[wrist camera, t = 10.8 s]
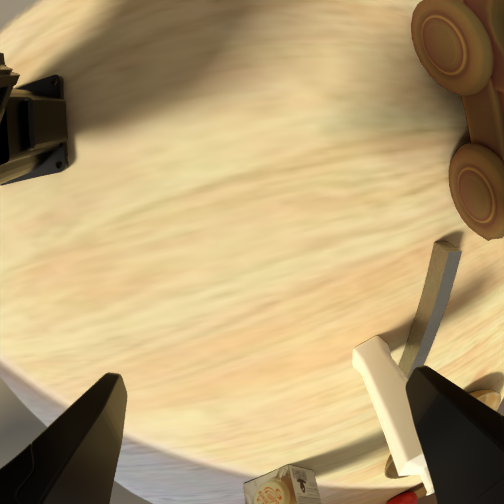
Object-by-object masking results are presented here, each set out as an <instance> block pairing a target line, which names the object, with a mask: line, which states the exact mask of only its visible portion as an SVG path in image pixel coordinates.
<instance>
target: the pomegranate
mask: <svg viewBox="0 0 504 504" xmlns="http://www.w3.org/2000/svg"><path fill="white" fill-rule="evenodd" d="M417 502H418V498H417V496H416V494H415V493H414V492H412V491H408V492H405V493H402V494H399V495H397V496H395V497H393V498H392V499H390V500H389V501H388V502H387V503H386V504H417Z"/></svg>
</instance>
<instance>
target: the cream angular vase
mask: <svg viewBox="0 0 504 504" xmlns="http://www.w3.org/2000/svg"><path fill="white" fill-rule="evenodd" d="M352 365H353V367H354V368H355V369H356V370H358V371H359V372H360V373H361V374H362V377H363V379H364V382H365V384H366V387H367V389H368V392H369V395H370V397H371V400H372V402H373V405H374V408H375V410H376V413H377V416H378V418H379V421H380V424H381V427H382V429H383V432H384V435H385V438H386V440H387V443H388V446H389V449H390V452H391V455H392V458H393V460H394V463H395V466H396V469H397V472H398V475H399V476H407V475H418V474H419V475H420V477H421V479H422V481H423V483H424V486H425V488H426V490H427V495H430V494H432V493H434V488H433V484H432V481H431V477H430V474H429V471H428V467H427V464H426V461H425V458H424V454H423V451H422V448H421V445H420V442H419V439H418V436H417V433H416V430H415V427H414V423H413V419H412V414H411V410H410V406H409V402H408V398H407V394H406V389H405V387H406V383H407V381H408V378H407V377H406V376H405V374H404V373H403V372H402V370H401V369H400V368H399V366H398V365H397V364H396V362H395V361H394V360H393V359H392V357H391V353H390V349H389V346H388V344H387V343H385V342H384V341H383V340H382V339H381V338H380V337H379V336H375V337H373V338H371V339H369V340H367V341H366V342H364V343H362V344H360V345H358V346H357V347H355V348H354V349H353V362H352Z"/></svg>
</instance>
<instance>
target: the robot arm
mask: <svg viewBox="0 0 504 504" xmlns="http://www.w3.org/2000/svg"><path fill="white" fill-rule="evenodd" d="M12 70H13V69H11V68H9V67H6V65H5V62H4V54H3V53H0V185H6V184H10V183H14V182H18V181H22V180H26V179H31V178H35V177H39V176H44V175H49V174H54V173H59V172H62V171H64V170H66V168H67V166H68V158H67V148H66V140H67V124H66V104H65V101H64V100H63V78H62V76H60V75H53V76H50V77H47V78H44V79H41V80H38V81H36V82H33V83H30V84H28V85H25V86H23V87H20V88H18V89H13V86H14V85H16V83H17V81H18V79H19V76H20V74H17V73H14V72H12ZM56 79H57V84H56V85H55V86H54V81H55V80H56ZM59 161H61V162H62V167H60V166H59ZM405 389H406V394H407V398H408V402H409V406H410V410H411V414H412V419H413V423H414V427H415V430H416V433H417V436H418V439H419V442H420V445H421V448H422V451H423V454H424V458H425V461H426V464H427V467H428V471H429V474H430V477H431V481H432V484H433V488H434V492H435V495H436V499H437V503H438V504H504V416H502V415H501V414H499V413H498V412H496V411H495V410H493V409H492V408H490V407H489V406H487V405H486V404H484V403H483V402H481V401H480V400H478V399H477V398H475V397H474V396H472V395H471V394H469V393H468V392H466V391H465V390H463V389H461V388H460V387H458V386H457V385H455V384H454V383H452V382H451V381H449V380H448V379H446V378H445V377H443V376H442V375H440V374H439V373H437V372H436V371H434V370H433V369H431V368H430V367H428V366H425V365H424V366H418V367H416V368H414V370H413V371H412V373H411V375H410V377H409V379H408V381H407V383H406V387H405ZM126 404H127V391H126V388H125V385H124V382H123V379H122V376H121V375H120V374H117V373H110V372H108V373H106V374H105V375H104V376H103V377H101V378H100V379H99V380H98V381H97V382H96V383H95V384H94V385H93V386H92V387H91V388H89V389H88V390H87V391H86V392H85V393H84V394H83V395H82V396H81V397H80V398H79V399H78V400H76V401H75V402H74V403H73V404H72V405H71V406H70V407H69V408H68V409H67V410H66V411H65V412H63V413H62V414H61V415H60V416H59V417H58V418H57V419H56V420H55V421H54V422H53V423H52V424H51V425H49V426H48V427H47V428H46V429H45V430H44V431H43V432H42V433H41V434H40V435H39V436H38V437H37V438H35V439H34V440H33V441H32V444H29V445H28V446H27V447H26V448H25V449H24V450H23V451H21V452H20V453H19V454H18V455H17V456H16V457H15V458H13V459H12V460H11V461H10V462H9V463H7V464H6V465H5V466H3V467H2V468H1V469H0V504H109V502H110V497H111V491H112V487H113V482H114V477H115V472H116V467H117V463H118V458H119V454H120V449H121V444H122V438H123V429H124V420H125V412H126Z"/></svg>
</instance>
